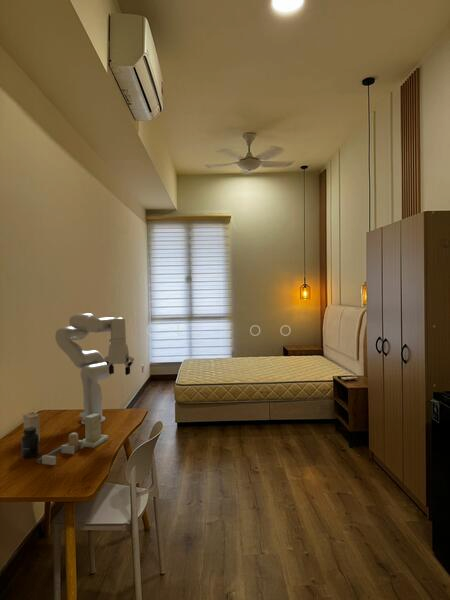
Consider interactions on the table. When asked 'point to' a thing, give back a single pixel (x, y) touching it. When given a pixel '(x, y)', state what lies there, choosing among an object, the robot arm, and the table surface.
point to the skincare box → (93, 428)
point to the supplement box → (32, 422)
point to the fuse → (74, 441)
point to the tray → (88, 444)
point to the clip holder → (51, 457)
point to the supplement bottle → (30, 443)
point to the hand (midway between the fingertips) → (119, 374)
